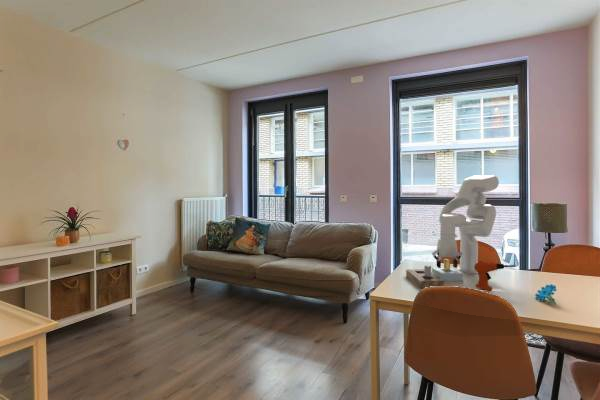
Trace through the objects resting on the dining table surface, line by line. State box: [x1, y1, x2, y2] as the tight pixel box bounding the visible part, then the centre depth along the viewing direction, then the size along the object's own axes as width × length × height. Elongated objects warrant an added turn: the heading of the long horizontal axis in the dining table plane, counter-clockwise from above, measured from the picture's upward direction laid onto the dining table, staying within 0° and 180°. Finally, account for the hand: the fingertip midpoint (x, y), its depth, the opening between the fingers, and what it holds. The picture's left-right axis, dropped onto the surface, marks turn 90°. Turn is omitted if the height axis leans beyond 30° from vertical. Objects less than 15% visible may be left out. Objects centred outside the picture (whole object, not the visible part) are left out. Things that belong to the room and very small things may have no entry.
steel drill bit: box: [424, 264, 432, 279], centre depth 179 cm, size 3×3×10 cm
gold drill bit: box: [443, 258, 451, 272], centre depth 193 cm, size 3×3×10 cm
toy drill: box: [474, 260, 516, 292], centre depth 173 cm, size 5×19×15 cm, turn 64°
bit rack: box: [405, 268, 445, 290], centre depth 185 cm, size 12×22×5 cm, turn 1°
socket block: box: [431, 266, 464, 282], centre depth 193 cm, size 12×12×5 cm
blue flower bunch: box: [534, 283, 557, 305], centre depth 158 cm, size 11×6×10 cm
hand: (446, 267), depth 193 cm, fingers open, 8 cm apart
